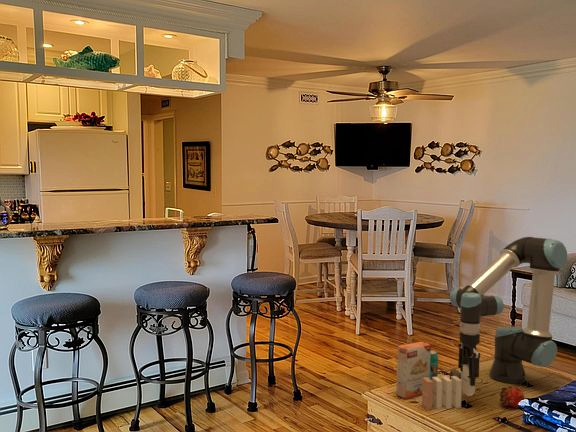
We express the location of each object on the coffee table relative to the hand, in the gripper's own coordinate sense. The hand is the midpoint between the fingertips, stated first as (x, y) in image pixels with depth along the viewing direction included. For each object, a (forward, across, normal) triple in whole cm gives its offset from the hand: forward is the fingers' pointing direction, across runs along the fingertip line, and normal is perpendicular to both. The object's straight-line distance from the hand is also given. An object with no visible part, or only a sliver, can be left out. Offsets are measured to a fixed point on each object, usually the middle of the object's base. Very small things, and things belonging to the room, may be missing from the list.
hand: (467, 390), depth 217 cm
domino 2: (+6, 0, -13) cm, 14 cm away
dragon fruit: (+6, +3, +18) cm, 19 cm away
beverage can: (+6, -21, -6) cm, 23 cm away
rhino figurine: (+6, -20, +6) cm, 22 cm away
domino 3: (+6, 0, -9) cm, 11 cm away
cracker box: (+6, -13, -17) cm, 23 cm away
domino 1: (+6, 0, -17) cm, 18 cm away
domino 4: (+6, 0, -5) cm, 8 cm away
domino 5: (+1, 0, 0) cm, 1 cm away
